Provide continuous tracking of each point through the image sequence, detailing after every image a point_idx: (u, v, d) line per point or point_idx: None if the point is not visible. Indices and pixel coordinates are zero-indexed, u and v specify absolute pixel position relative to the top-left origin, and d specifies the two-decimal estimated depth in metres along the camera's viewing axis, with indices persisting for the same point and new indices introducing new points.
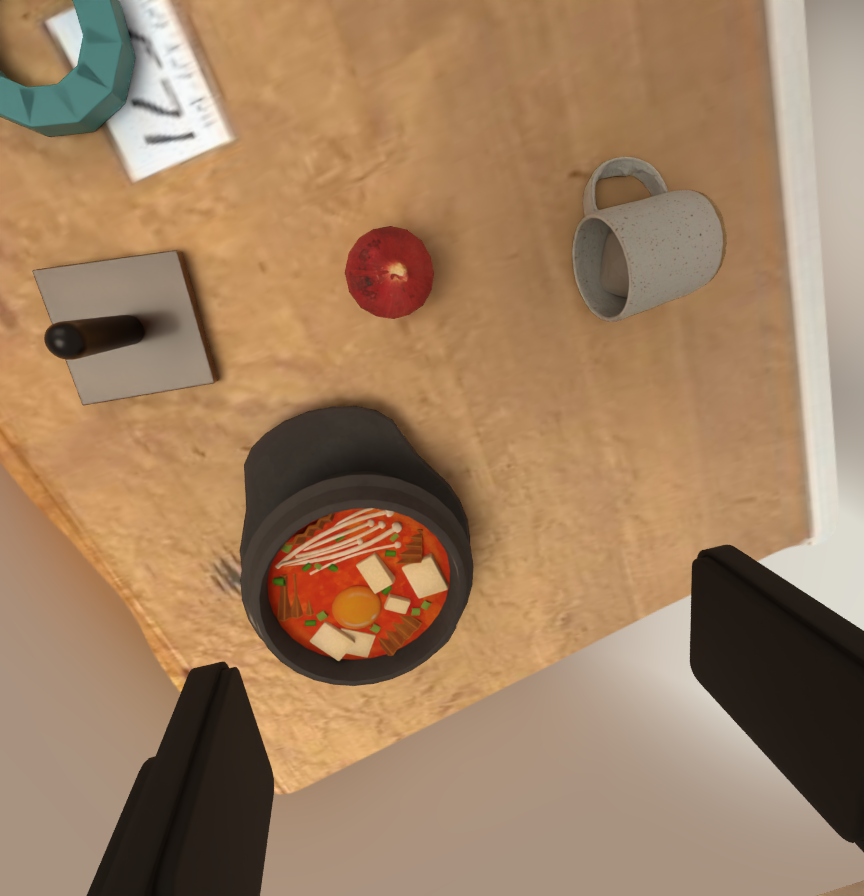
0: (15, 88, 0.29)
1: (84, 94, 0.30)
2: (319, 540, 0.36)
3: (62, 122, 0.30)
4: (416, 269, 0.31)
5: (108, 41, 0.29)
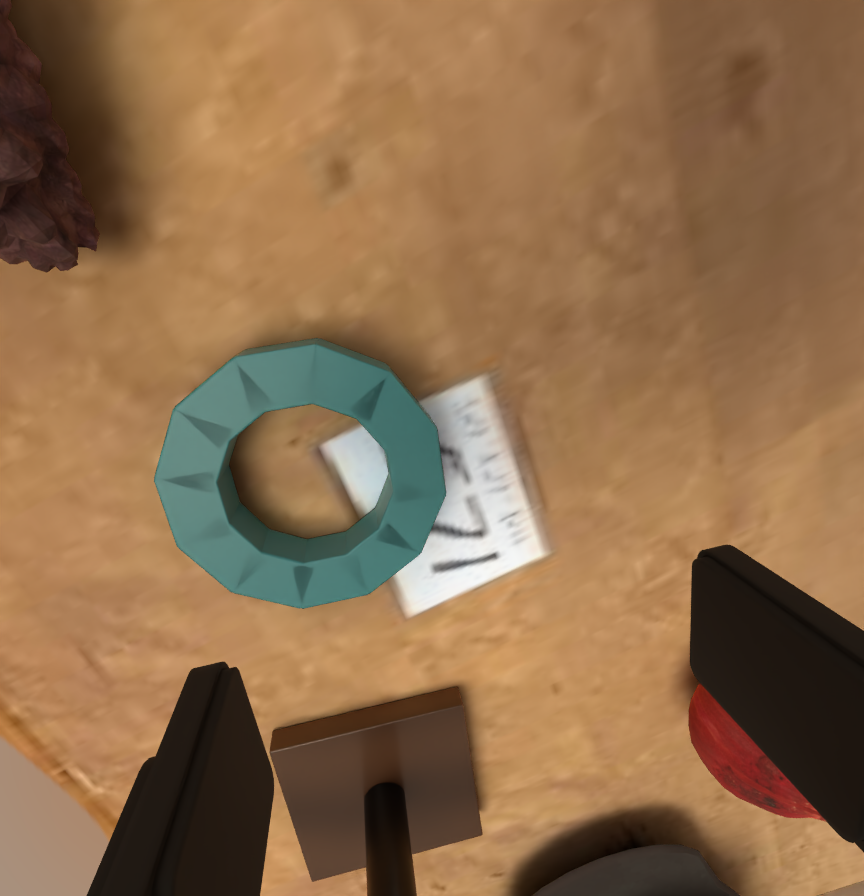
0: (287, 567, 0.19)
1: (381, 562, 0.20)
2: None
3: (346, 598, 0.20)
4: None
5: (427, 495, 0.19)
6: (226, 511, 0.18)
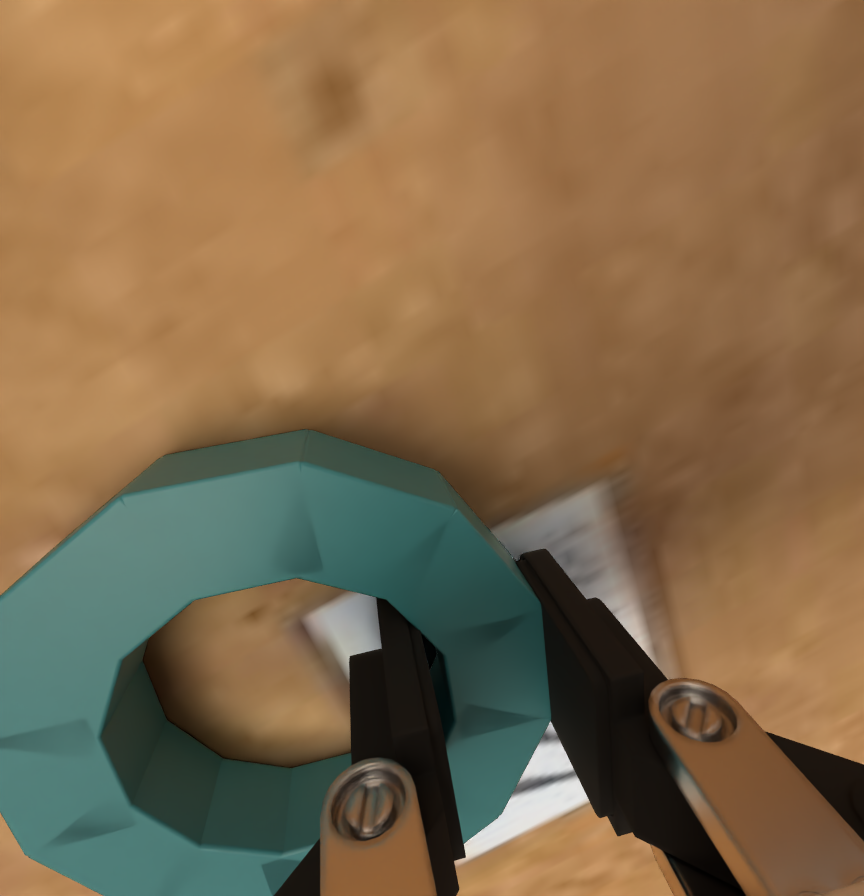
0: (252, 864, 0.10)
1: None
2: None
3: None
4: None
5: (518, 722, 0.10)
6: (124, 783, 0.09)
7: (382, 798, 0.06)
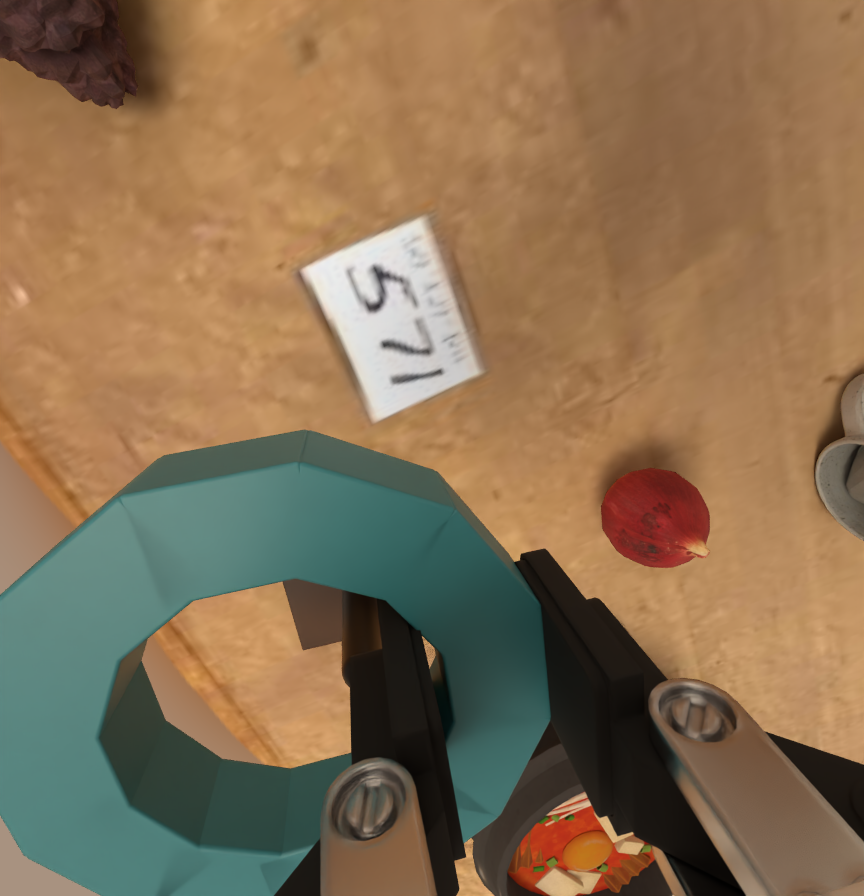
0: (251, 865, 0.10)
1: None
2: None
3: None
4: (706, 534, 0.28)
5: (518, 722, 0.10)
6: (123, 783, 0.09)
7: (382, 798, 0.06)
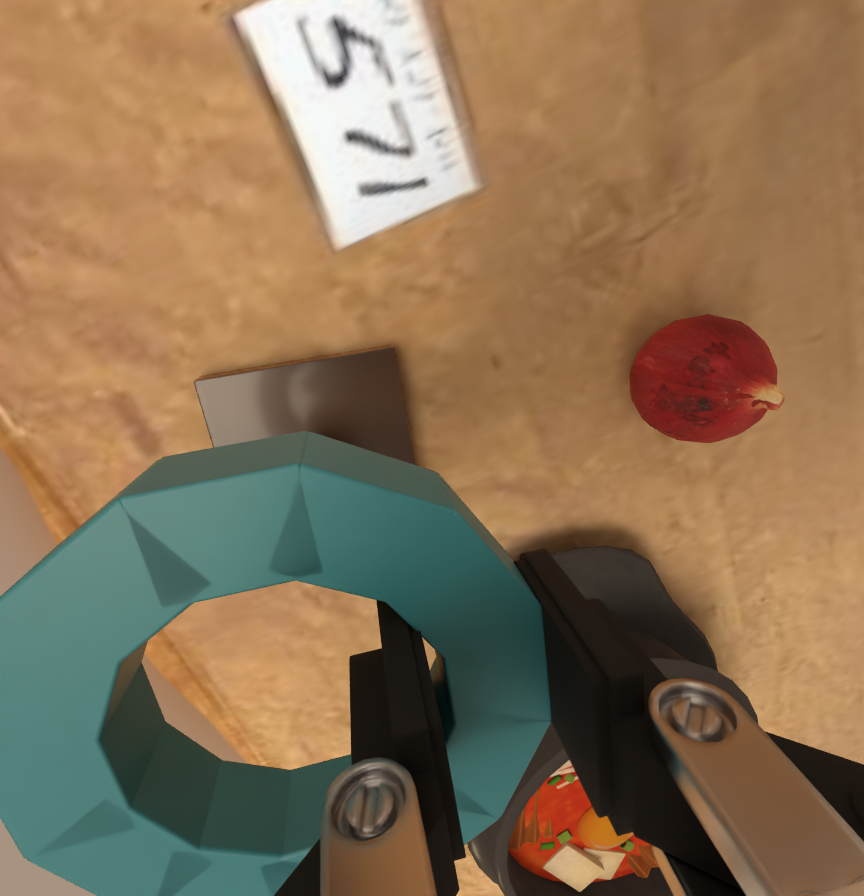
0: (251, 867, 0.10)
1: None
2: None
3: None
4: None
5: (518, 724, 0.10)
6: (123, 785, 0.09)
7: (382, 798, 0.06)
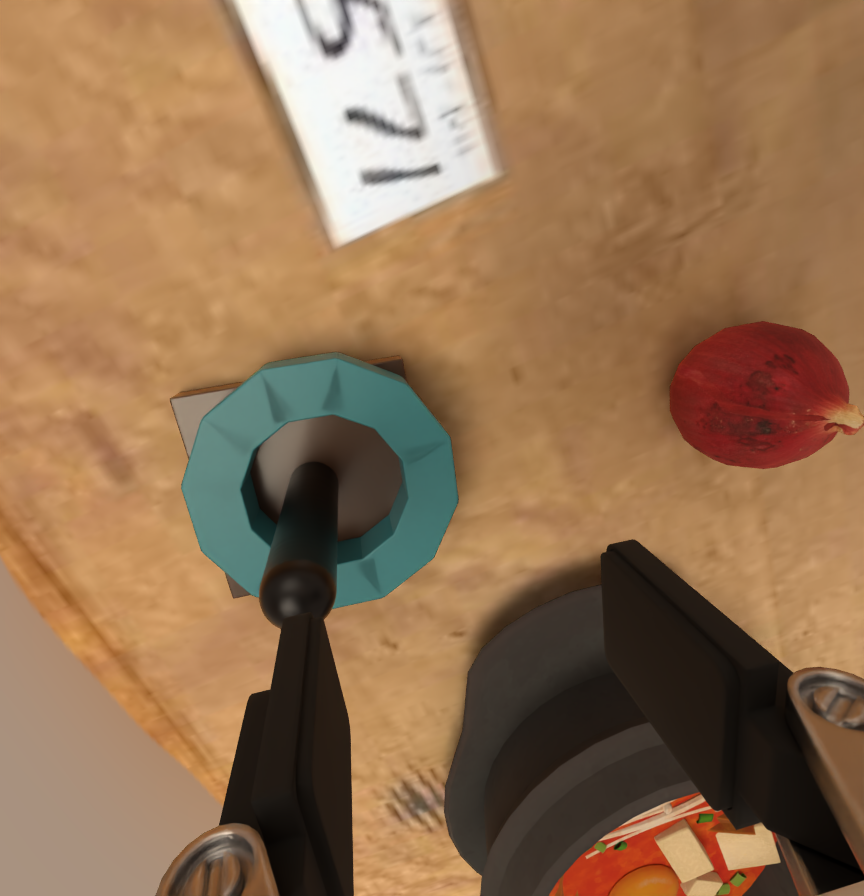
0: None
1: (396, 567, 0.21)
2: None
3: (361, 601, 0.21)
4: None
5: (441, 502, 0.20)
6: (249, 517, 0.19)
7: (228, 873, 0.06)
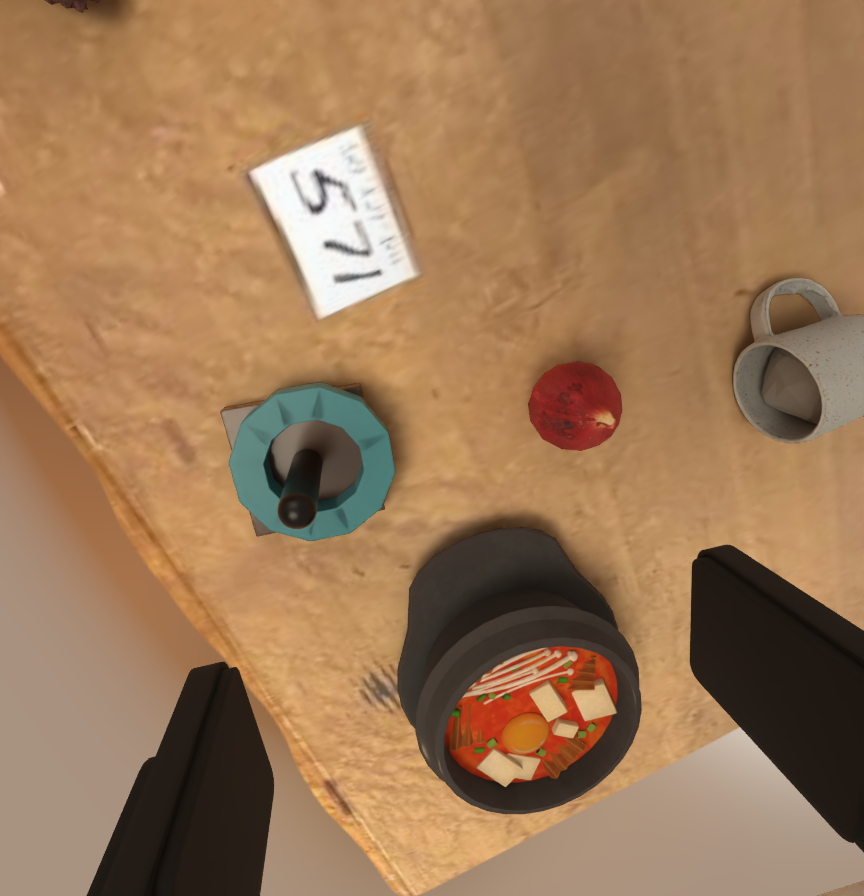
0: None
1: (358, 513, 0.33)
2: (495, 672, 0.35)
3: (336, 535, 0.34)
4: (616, 412, 0.31)
5: (384, 472, 0.33)
6: (268, 481, 0.32)
7: None
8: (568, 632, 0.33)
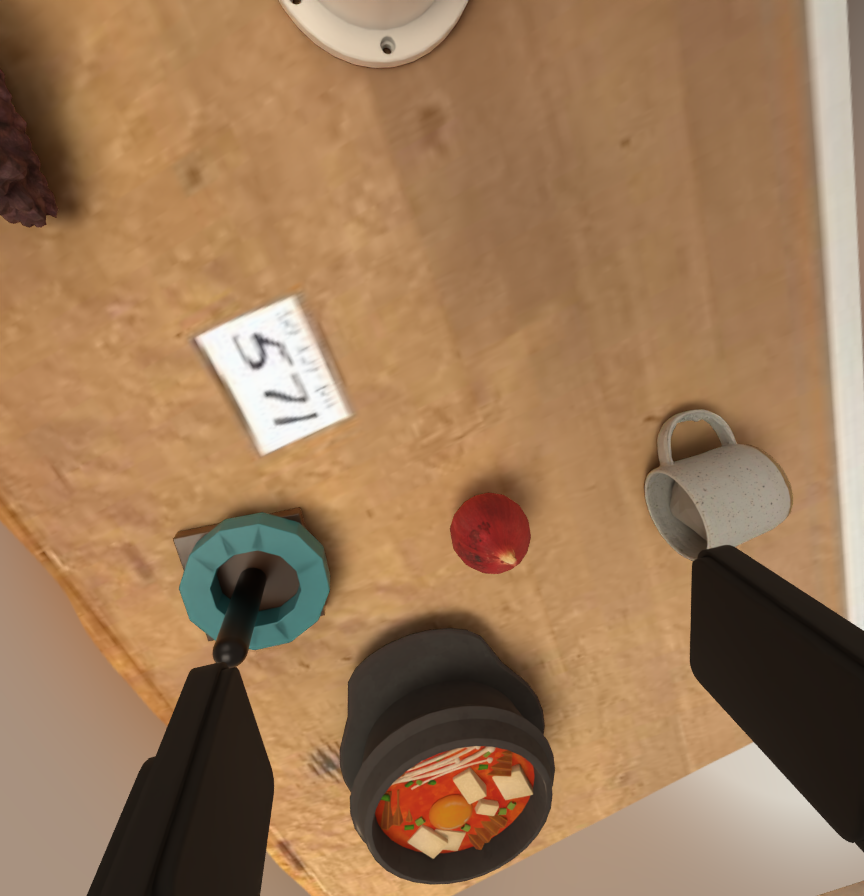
0: None
1: (297, 625, 0.38)
2: (421, 762, 0.39)
3: (278, 644, 0.38)
4: (521, 547, 0.35)
5: (319, 591, 0.37)
6: (214, 602, 0.36)
7: None
8: (482, 732, 0.38)
